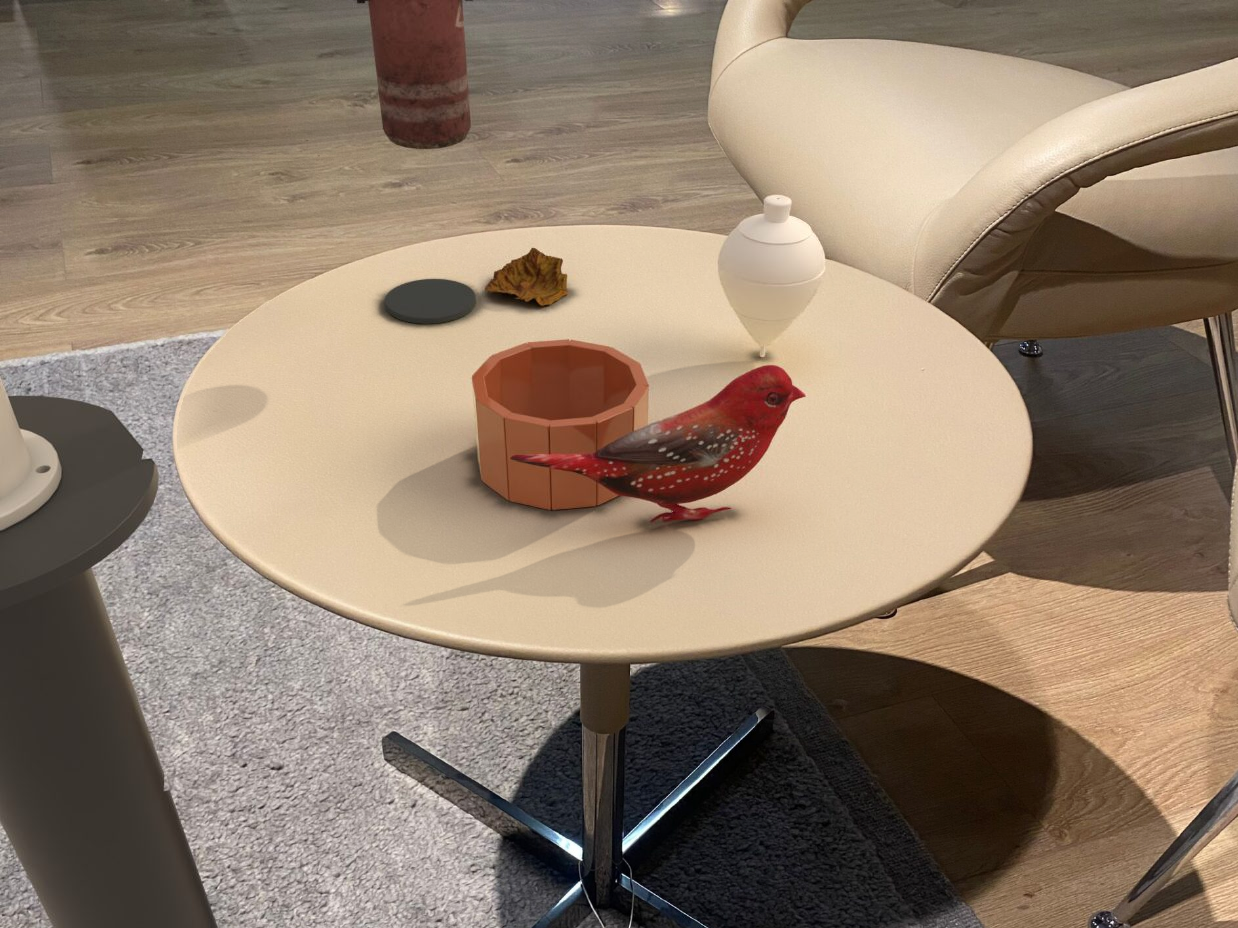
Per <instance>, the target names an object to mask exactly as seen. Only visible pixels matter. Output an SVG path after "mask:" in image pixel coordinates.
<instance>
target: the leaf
mask: <svg viewBox="0 0 1238 928" xmlns="http://www.w3.org/2000/svg"><path fill="white" fill-rule="evenodd" d="M563 262H564V260H563V258H560V257H556V256H552V255H546V254H544V252H541V251H540V250H538V249H537V248H536V247H531V249H530V250H529V251H528V252H527V254H523V255H521V256H520V257H518V258H516V259H515V258H514V259H511V261H510V262H508V263H506V264H505V265H504V266H503V267H502V268H499V269H498V270H495V271H493V278H491V279H490V280H489V282H488V283H487V285H486V286H485V287H484V291H488V292H489V294H491V293H493V292H494V293H502V294H503V295H515V296H516V297H515V299H516V300H524V301H525V302H530V301H536V302H537V303H538V304H539V305H540V306H543V307H544V306H545V305H546V306H547V305H550V306H551V305H552V304H553V303H555V302H557V301H559V300H560V299H561V298H563V297H564V296H566V295H569V292H568V288H567V286H568V284H567V283H568V281H567V280H568V274H567V273H563V272H562V267H563V266H562V265H563Z"/></svg>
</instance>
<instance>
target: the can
mask: <svg viewBox="0 0 1238 928" xmlns="http://www.w3.org/2000/svg"><path fill="white" fill-rule="evenodd" d="M367 5H368V12H369V13H368V14H369V22H370V29H371V31H370V32H371V38H372V46H373V56H374V63H375V73H376V81H377V87H378V88H377V90H378V98H379V108H380V115H381V125H382V130H383V132H384V134H385V136H386V137H387V138H388V140H389V141H390V142H391V143H393V145H396V146H398V147H402V148H407V149H413V150H435V149H444V148H448V147H452V146H456V145H458V144H461V143H462V142H463V141H464V140H466V138H467V137H468V135H469V132H470V130H471V127H472V123H471V107H470V93H469V78H468V65H467V64H468V63H467V50H466V37H465V35H466V34H465V21H464V6H463V5H464V4H463V0H368V1H367Z"/></svg>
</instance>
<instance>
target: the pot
mask: <svg viewBox="0 0 1238 928" xmlns="http://www.w3.org/2000/svg"><path fill="white" fill-rule="evenodd" d="M643 369H644V368H643V367H642V365H641V363H640V362H639V361H637V360H636V359H634V358H632V357H630V356H629V355H627V354H625V353H624V352H621V351H620V350H618V349H616V348H615V347H612V346H609V345H604V344H599V343H598V344H597V343H592V342H587V341H581V340H576V339H569V338H568V339H566V338H565V339H553V340H541V341H540V340H539V341H528V342H524V343H521V344H518V345H516V346H513V347H510V348H508V349H505V350H502V351H499V352H497V353H494V354H492V355H490V356H489V357H488V358H486V359H485V361H484V362H483V363H482V364H481V366H479V368H478V369H477V370H476V371H475V372H474V373H473V374H472V375H471V389H472V390H471V391H472V399H473V400H472V403H473V416H474V428H475V429H474V430H475V439H476V440H475V443H476V454H477V463H478V468H479V474H480V479H481V481H482V482H483V484H485V485H487V486H488V488H490V489H491V490H493V491H494V492H496V493H497V494H499V495H500V496H501V497H502V498H504V499H505V500H506V501H509V502H512V503H516V504H521V505H525V506H530V507H534V508H539V509H544V510H549V511H551V510H552V511H558V510H568V509H577V508H578V509H579V508H589V507H596V506H599V505H600V506H601V505H603V504H605V503H606V502H608V501H611V500H613V499H614V498H617V497H619V496H620V495H617V494H615V493H613V492H612V491H610V490H608V489H607V488H605V487H604V486H602V485H601V484H599V483H598V482H595V481H594V480H592V479H590V478H588V477H586V476H584V475H581V474H578V473H575V472H570V471H563V470H557V469H553V468H548V467H542V466H537V465H531V464H526V463H521V462H517V461H515V460H511V459H510V458H511V457H512V456H514V455H526V454H589V453H594V452H596V451H598V450H599V449H601V448H603V447H605V446H606V445H608V444H610V443H611V442H613V441H615V440H617V439H619V438H621V437H623V436H625V435H627V434H629V433H631V432H633V431H635V430H638V429H640V428H642V427H645V426H647V425H649V399H650V397H649V394H650V392H649V391H650V384H649V382H648V379H647V377H646V374H645V372H644V370H643Z"/></svg>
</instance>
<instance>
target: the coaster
mask: <svg viewBox="0 0 1238 928" xmlns="http://www.w3.org/2000/svg"><path fill="white" fill-rule="evenodd" d="M476 304H477V297H476V293H475V291H474V290H473V289H472V288H471V287H470V286H469V285H467V284H465V283H463V282H460V281H456V280H452V279H446V278H423V279H416V280H411V281H407V282H404V283H401V284H400V285H397V286H395V287H393V288H392V289H390V290H389V291H388V292H387V294H386V295H385V298H384V306H385V310H386V311H387V312H388V314H389V315H390V316H391V317H393V318H395V319H397V320H399V321H402V322H407V323H411V324H421V325H422V324H423V325H431V324H433V325H434V324H441V323H443V324H444V323H446V322H452V321H455V320H458V319H460V318H463V317H465V316H466V315H468V314H469V313H471V312H472V311H473V310H474V308H475V307H476Z"/></svg>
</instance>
